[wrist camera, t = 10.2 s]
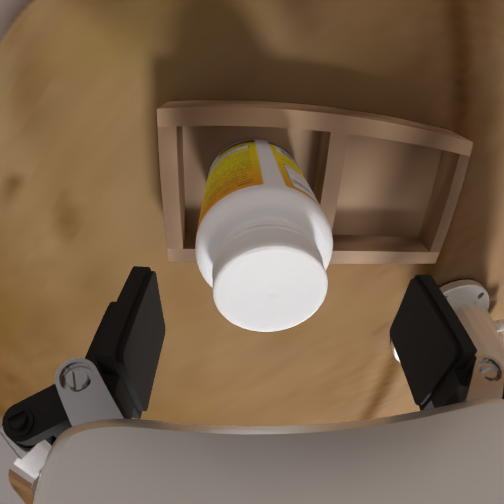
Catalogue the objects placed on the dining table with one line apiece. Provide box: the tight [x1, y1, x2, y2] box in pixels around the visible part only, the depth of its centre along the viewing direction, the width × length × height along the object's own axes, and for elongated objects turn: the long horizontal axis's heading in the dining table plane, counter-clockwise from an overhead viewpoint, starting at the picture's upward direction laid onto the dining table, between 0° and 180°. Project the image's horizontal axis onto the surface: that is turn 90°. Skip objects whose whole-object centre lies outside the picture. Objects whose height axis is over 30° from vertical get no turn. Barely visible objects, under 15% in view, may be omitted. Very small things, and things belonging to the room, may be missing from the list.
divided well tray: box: [157, 100, 474, 264], centre depth 19 cm, size 19×10×3 cm, turn 87°
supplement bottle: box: [195, 139, 333, 332], centre depth 15 cm, size 6×6×10 cm
